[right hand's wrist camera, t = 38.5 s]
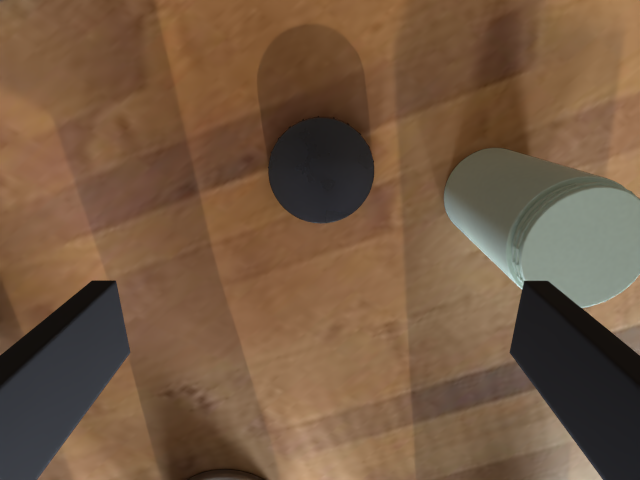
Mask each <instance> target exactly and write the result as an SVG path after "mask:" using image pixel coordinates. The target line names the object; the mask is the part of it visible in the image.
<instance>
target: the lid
mask: <svg viewBox="0 0 640 480" xmlns="http://www.w3.org/2000/svg"><path fill="white" fill-rule="evenodd" d="M369 148H370V147H369V146H368V145H367V143H366V142H365V140H364V139H363V138H362V136H361V134H360V133H358V132H357V131H356V130H355V129H354V128H352V127H351V126H349V124H348V123H347V124H346V123H344V122H342V121H340V120H337V119H335V118H334V117H333V118H329V117H319V116H318V117H314V118H309V119H306V120H304V119H303V120H302V121H300V122H298V123H296V124H295V125H293V126H292V127H289V129H288V130H287V131H286V132H285V133H284V134H283V135H282V136H281V137H279V138H278V141H277V143H276V145H275V146H274V149H273V151H272V152H271V157H270V161H269V167H268V168H269V180H270V185H271V188H272V191H273V193H274V195H275V197H276V198H277V200H278V201H279V203H280V204H281V205H282V206H283V207H284V208H285V209H286V210H287V211H288V212H289V213H291V214H292V215H294V216H295V217H297V218H299V219H302V220H305V221H308V222H312V223H330V222H335V221H338V220H341V219H343V218H345V217H347V216H349V215H350V214H352V213H353V212H354V211H356V210H357V209H358V208H359V207H360V206H361V205H362V203H363V202H364V201H365V199H366V198H367V196H368V194H369V192H370V190H371V187H372V183H373V178H374V163H373V162H374V161H373V158H372V154H371V152H370V149H369Z"/></svg>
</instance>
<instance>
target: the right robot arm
mask: <svg viewBox="0 0 640 480" xmlns="http://www.w3.org/2000/svg"><path fill="white" fill-rule="evenodd" d="M129 354H130V349H129V344H128V339H127V334H126V329H125V324H124V319H123V314H122V309H121V304H120V299H119V294H118V289H117V284H116V281H91V282H90V283H89V284H87V285H86V286H85V287H84V288H83V289H81V290H80V291H79V292H78V293H76V294H75V295H74V296H73V297H72V298H70V299H69V300H68V301H67V302H65V303H64V304H63V305H62V306H61V307H59V308H58V309H57V310H56V311H54V312H53V313H52V314H51V315H49V316H48V317H47V318H46V319H45V320H43V321H42V322H41V323H40V324H38V325H37V326H36V327H35V328H34V329H32V330H31V331H30V332H29V333H27V334H26V335H25V336H24V337H23V338H21V339H20V340H19V341H18V342H16V343H15V344H14V345H13V346H12V347H10V348H9V349H8V350H7V351H5V352H4V353H3V354H2V355H1V356H0V480H37V479H38V477H39V476H40V475H41V473H42V472H43V471H44V469H45V468H46V467H47V465H48V464H49V462H50V461H51V460H52V458H53V457H54V456H55V454H56V453H57V452H58V450H59V449H60V447H61V446H62V445H63V443H64V442H65V441H66V439H67V438H68V437H69V435H70V434H71V433H72V431H73V430H74V428H75V427H76V426H77V424H78V423H79V422H80V420H81V419H82V418H83V416H84V415H85V413H86V412H87V411H88V409H89V408H90V407H91V405H92V404H93V403H94V401H95V400H96V399H97V397H98V396H99V394H100V393H101V392H102V390H103V389H104V388H105V386H106V385H107V384H108V382H109V381H110V379H111V378H112V377H113V375H114V374H115V373H116V371H117V370H118V369H119V367H120V366H121V365H122V363H123V362H124V360H125V359H126V358H127V356H128V355H129ZM510 354H511V355H512V356H513V358H514V359H515V360H516V362H517V363H518V365H519V366H520V367H521V369H522V370H523V371H524V373H525V374H526V375H527V377H528V378H529V379H530V381H531V382H532V384H533V385H534V386H535V388H536V389H537V390H538V392H539V393H540V394H541V396H542V397H543V399H544V400H545V401H546V403H547V404H548V405H549V407H550V408H551V409H552V411H553V412H554V413H555V415H556V416H557V418H558V419H559V420H560V422H561V423H562V424H563V426H564V427H565V428H566V430H567V431H568V433H569V434H570V435H571V437H572V438H573V439H574V441H575V442H576V443H577V445H578V446H579V447H580V449H581V450H582V452H583V453H584V454H585V456H586V457H587V458H588V460H589V461H590V462H591V464H592V465H593V467H594V468H595V469H596V471H597V472H598V473H599V475H600V476H601V477H602V479H603V480H640V356H639V355H638V354H637V353H636V352H635V351H633V350H632V349H631V348H630V347H628V346H627V345H626V344H625V343H624V342H622V341H621V340H620V339H619V338H617V337H616V336H615V335H614V334H613V333H611V332H610V331H609V330H608V329H606V328H605V327H604V326H603V325H602V324H600V323H599V322H598V321H597V320H595V319H594V318H593V317H592V316H591V315H589V314H588V313H587V312H586V311H584V310H583V309H582V308H581V307H579V306H578V305H577V304H576V303H575V302H573V301H572V300H571V299H570V298H568V297H567V296H566V295H565V294H564V293H562V292H561V291H560V290H559V289H557V288H556V287H555V286H554V285H553V284H551V283H550V282H549V281H524V284H523V289H522V294H521V299H520V304H519V309H518V314H517V319H516V324H515V329H514V334H513V339H512V344H511V349H510ZM188 480H263V479H261V478H259V477H257V476H255V475H252V474H249V473H246V472H242V471H236V470H213V471H208V472H204V473H201V474H198V475H196V476H193V477H192V478H190V479H188Z"/></svg>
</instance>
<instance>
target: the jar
mask: <svg viewBox="0 0 640 480" xmlns="http://www.w3.org/2000/svg"><path fill="white" fill-rule="evenodd" d="M444 205H445V210H446V212H447V215H448V217H449V218H450V220H451V221H452V222H453V224H454V225H456V226H457V227H458V228H459V229H460V230H461V231H462V232H463V233H464V234H465V235H466V236H467V237H468V238H469V239H470V240H471V241H472V242H473V243H474V244H475V245H476V246H477V247H478V248H479V249H480V250H481V251H482V252H483V253H484V254H486V255H487V256H488V257H489V258H490V259H491V260H492V261H493V262H494V263H495V264H496V265H497V266H498V267H499V268H500V269H501V270H502V271H503V272H504V273H505V274H506V275H507V276H508V277H509V278H510V279H511V280H512V281H513V282H514V283H516V284H517V285H518V286H519V287H520V288H521V289H523V284H524V281H549V282H550V283H551V284H553V285H554V286H555V287H556V288H557V289H559V290H560V291H561V292H562V293H564V294H565V295H566V296H567V297H568V298H570V299H571V300H572V301H573V302H575V303H576V304H577V305H578V306H579V307H581V308H583V307H590V306H593V305H596V304H599V303H602V302H606V301H607V300H609V299H611V298H612V297H614V296H616V295H617V294H619V293H622V292H623V291H624V290H625V289H626V288H627V287H628V286H630V285H631V284H632V283H633V282H634V281H635V279H636V278H637V277H638V276H639V274H640V199H639V198H638V197H637V196H635V195H634V194H633V193H632V192H631V191H629V190H627V189H626V188H624V187H623V186H622V185H620V184H618V183H617V182H615V181H612V180H610V179H607V178H604V177H600V176H597V175H593V174H590V173H586V172H583V171H580V170H576V169H573V168H569V167H566V166H563V165H559V164H556V163H552V162H549V161H546V160H542V159H539V158H535V157H532V156H528V155H525V154H522V153H518V152H515V151H511V150H508V149H503V148H488V149H483V150H480V151H477V152H475V153H473V154H471V155H469V156H468V157H466V158H465V159H464V160H462V161H461V162H460V163H459V164H458V165H457V166H456V167H455V169H454V170H453V171H452V173H451V174H450V176H449V178H448V180H447V183H446V186H445V191H444Z"/></svg>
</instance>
